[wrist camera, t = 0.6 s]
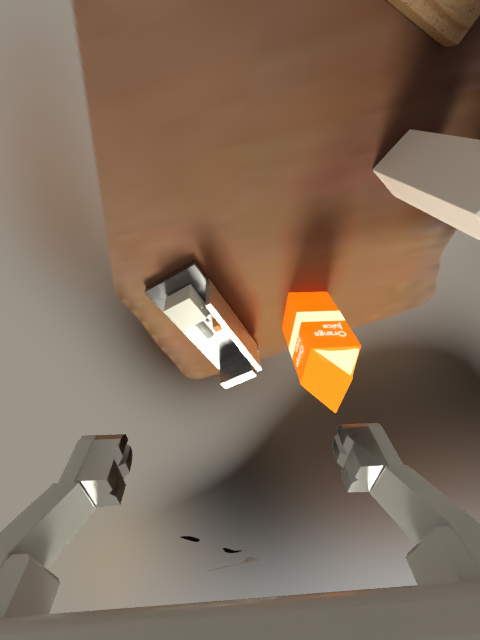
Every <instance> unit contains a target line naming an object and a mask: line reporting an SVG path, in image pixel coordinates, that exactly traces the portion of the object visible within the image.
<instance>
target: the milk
mask: <svg viewBox="0 0 480 640" xmlns="http://www.w3.org/2000/svg"><path fill="white" fill-rule="evenodd" d="M373 171H374V173H375V174H376V175H377V176H378V177H379V179H380V180H381V181H382V182H383V183H384V184H385V186H386V187H387V188H388V189H389V190H390V192H391V193H392V194H393V195H394V196H395V197H397V198H399V199H401V200H403V201H405V202H407V203H409V204H410V205H412V206H414V207H416V208H418V209H420V210H422V211H424V212H426V213H428V214H430V215H432V216H434V217H435V218H437V219H439V220H441V221H443V222H445V223H447V224H449V225H451V226H453V227H455V228H457V229H459V230H460V231H462V232H465V233H466V234H468V235H470V236H472V237H474V238H476V239H478V240H480V140H477V139H470V138H464V137H457V136H451V135H444V134H438V133H431V132H425V131H419V130H412V129H410V130H408V132H407V133H406V134H405V135H404V136H403V137H402V138H401V139H400V140H399V141H398V142H397V143H396V145H395V146H394V147H393V148H392V149H391V150H390V151H389V152H388V153H387V154H386V155H385V156H384V158H383V159H382V160H381V161H380V162H379V163H378V164H377V165H376V166H375V167H374V168H373Z"/></svg>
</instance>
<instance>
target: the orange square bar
mask: <svg viewBox="0 0 480 640" xmlns="http://www.w3.org/2000/svg"><path fill="white" fill-rule="evenodd" d="M212 328H213V330H214V331H215V332H218V331H220V330H222V326H221V325H220V323H219V322H218V321H217V320H216V319H215V318H213V319H212Z"/></svg>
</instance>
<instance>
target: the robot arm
mask: <svg viewBox="0 0 480 640" xmlns="http://www.w3.org/2000/svg"><path fill="white" fill-rule="evenodd" d="M337 432H338V435H336V436H335V437H334V440H333V452H334V456H335V459H336V462H337V463H338V464H339V465H340V466H341V467H343V468H342V471H341V476H342V478H343V481H344V484H345V487H346V489H347V492H370V494H371V495H372V496H373V497H374V498H375V499H376V501H377V502H378V503H379V504H380V505H381V506H382V507H383V508H384V509H385V510H386V512H387V513H388V514H389V515H390V516H391V517H392V518H393V519H394V521H395V522H396V523H397V524H398V525H399V526H400V527H401V528H402V529H403V530H404V532H405V533H406V534H407V535H408V536H409V537H410V538H411V539H412V540H413V542H414V543H415V544H416V546H415V547H414V548H413V549H412V550H410V552H408V554H407V557H406V559H407V561H408V563H409V566H410V568H411V571H412V573H413V575H414V577H415V580H416V582H417V584H418V585H415V586H403V587H390V588H377V589H364V590H352V591H339V592H326V593H314V594H301V595H288V596H276V597H262V598H249V599H237V600H224V601H212V602H199V603H186V604H173V605H161V606H147V607H135V608H122V609H110V610H96V611H84V612H71V613H59V614H49V613H50V610H51V607H52V604H53V602H54V599H55V596H56V593H57V590H58V587H59V585H60V582H59V579H58V577H56V576H55V575H54V574H52V573H51V572H50V571H49V570H48V569H49V567H50V566H51V565H52V563H53V562H54V561H55V560H56V558H57V557H58V556H59V555H60V553H61V552H62V551H63V550H64V548H65V547H66V546H67V545H68V543H69V542H70V541H71V540H72V538H73V537H74V536H75V534H76V533H77V532H78V530H79V529H80V528H81V527H82V526H83V524H84V523H85V522H86V520H87V519H88V518H89V517H90V516H91V514H92V513H93V512H94V510H95V509H96V508H95V507H104V506H116V505H120V504H121V501H122V497H123V494H124V490H125V486H126V484H125V482H124V480H123V479H124V478H125V476H126V475H127V474H128V473H129V472H130V468H131V464H132V449H131V446H129V445H128V444H127V441H128V438H127V436H126V434H123V435H122V434H119V435H89V436H82V437H81V438H80V440H78V442H77V444H76V446H75V449H74V451H73V453H72V455H71V457H70V459H69V461H68V463H67V465H66V467H65V469H64V472H63V474H62V476H61V478H60V480H59V482H58V483H55V484H52V485H51V486H50V487H49V488H48V489H47V490H46V491H45V492H44V493H43V494H42V495H41V496H39V497H38V498H37V499H36V500H35V501H34V502H33V503H32V504H31V505H29V506H28V507H27V508H26V509H25V510H24V511H23V512H22V513H21V514H20V515H19V516H17V518H15V519H14V520H13V521H12V522H11V523H10V524H9V525H8V526H6V528H4V529H3V530H2V531H1V532H0V640H480V523H479V522H477V521H476V520H475V519H474V518H473V517H471V516H470V515H469V514H467V513H466V512H465V511H464V510H463V509H461V508H460V507H459V506H458V505H456V504H455V503H454V502H453V501H451V500H450V499H449V498H447V497H446V496H445V495H444V494H443V493H441V492H440V491H439V490H438V489H436V488H435V487H434V486H433V485H431V484H430V483H429V482H428V481H426V480H425V479H424V478H423V477H421V476H420V475H419V474H418V473H416V472H415V471H414V470H413V469H411V468H410V467H409V466H408V465H403V463H402V462H401V460H400V458H399V456H398V455H397V453H396V451H395V449H394V447H393V446H392V444H391V442H390V440H389V439H388V437H387V435H386V433H385V432H384V430H383V428H382V426H381V425H379V424H377V423H371V424H349V425H340V426H338V428H337Z"/></svg>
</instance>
